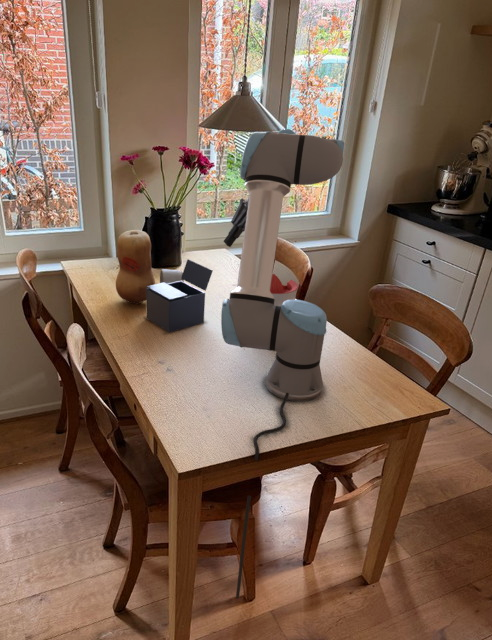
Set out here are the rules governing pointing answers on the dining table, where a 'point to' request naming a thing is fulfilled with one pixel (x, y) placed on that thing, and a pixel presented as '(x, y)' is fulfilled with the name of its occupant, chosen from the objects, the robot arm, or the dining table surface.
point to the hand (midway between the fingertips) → (226, 244)
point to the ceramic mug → (170, 276)
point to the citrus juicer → (282, 290)
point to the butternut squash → (134, 266)
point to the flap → (196, 274)
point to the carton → (175, 305)
